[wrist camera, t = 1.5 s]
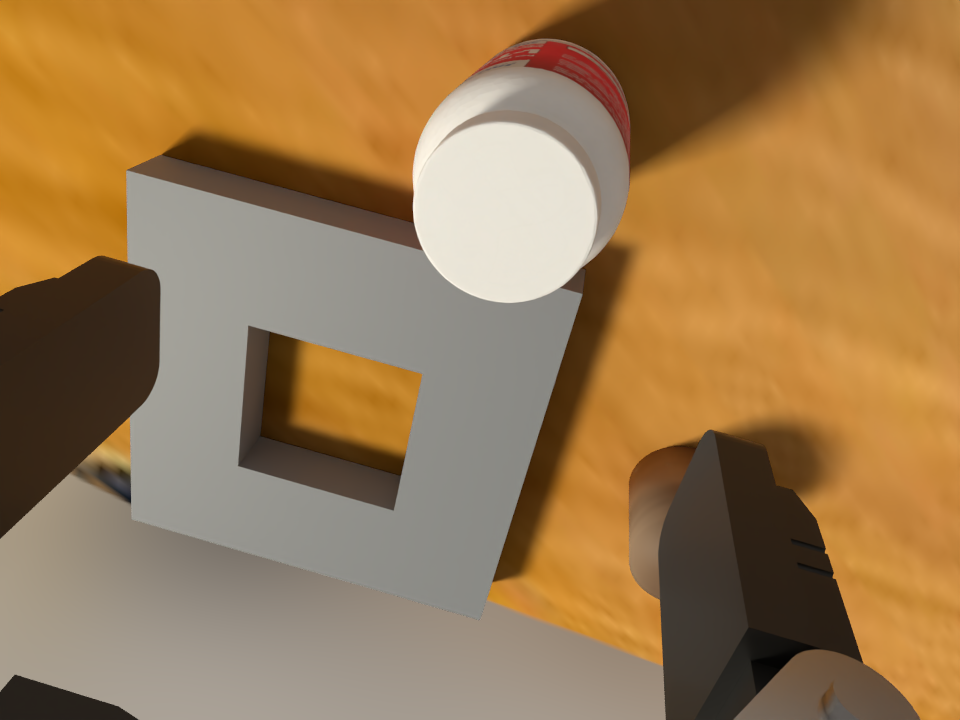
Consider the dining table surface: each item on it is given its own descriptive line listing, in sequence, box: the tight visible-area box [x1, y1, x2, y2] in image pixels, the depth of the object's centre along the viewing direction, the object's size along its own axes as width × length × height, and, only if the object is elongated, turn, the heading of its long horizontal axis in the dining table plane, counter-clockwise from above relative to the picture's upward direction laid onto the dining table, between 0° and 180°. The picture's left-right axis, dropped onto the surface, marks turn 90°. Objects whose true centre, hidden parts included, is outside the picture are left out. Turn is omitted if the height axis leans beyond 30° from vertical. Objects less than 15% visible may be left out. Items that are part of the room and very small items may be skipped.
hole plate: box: [126, 155, 586, 620], centre depth 35 cm, size 18×18×2 cm
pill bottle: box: [413, 39, 630, 303], centre depth 24 cm, size 6×6×11 cm
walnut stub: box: [629, 446, 696, 599], centre depth 33 cm, size 4×4×5 cm
